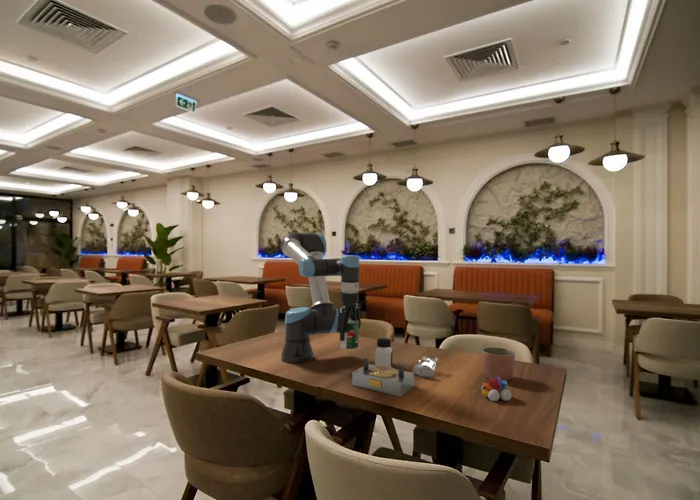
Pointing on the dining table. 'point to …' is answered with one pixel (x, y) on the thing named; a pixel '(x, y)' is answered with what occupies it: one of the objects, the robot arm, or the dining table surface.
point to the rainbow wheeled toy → (496, 390)
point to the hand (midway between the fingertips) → (348, 345)
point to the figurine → (425, 367)
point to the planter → (498, 363)
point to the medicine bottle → (384, 353)
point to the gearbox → (383, 378)
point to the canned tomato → (352, 334)
